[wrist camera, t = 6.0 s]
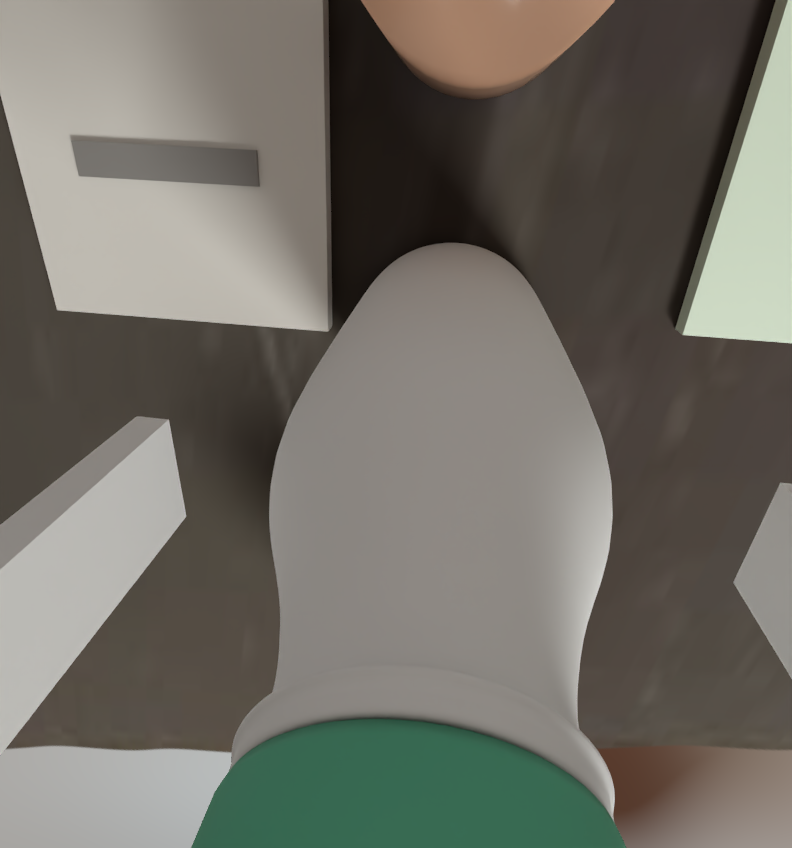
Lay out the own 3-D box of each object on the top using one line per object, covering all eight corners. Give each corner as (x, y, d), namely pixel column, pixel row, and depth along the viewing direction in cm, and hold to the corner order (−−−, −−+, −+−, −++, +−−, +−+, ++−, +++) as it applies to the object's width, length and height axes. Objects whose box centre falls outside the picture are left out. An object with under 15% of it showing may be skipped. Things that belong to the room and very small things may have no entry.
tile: (69, 305, 23) (54, 311, 23) (-19, -43, 18) (-43, -53, 17) (332, 326, 22) (326, 332, 22) (327, -35, 17) (320, -45, 16)
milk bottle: (379, 217, 20) (-169, 664, 3) (571, 267, 20) (1281, 1027, 3) (344, 391, 24) (15, 1066, 6) (506, 434, 24) (630, 1217, 6)
